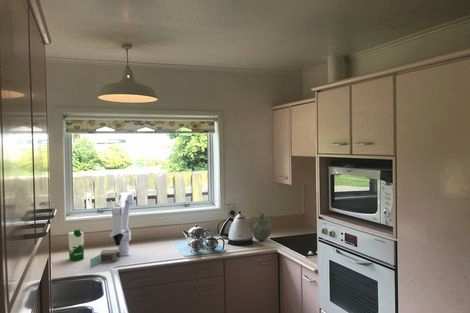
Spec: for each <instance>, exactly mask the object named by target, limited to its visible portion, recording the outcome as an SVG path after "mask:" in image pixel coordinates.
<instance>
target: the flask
mask: <svg viewBox="0 0 470 313" xmlns="http://www.w3.org/2000/svg"><path fill="white" fill-rule="evenodd" d="M259 215H260V216H259V220H258V221H256V222H254V225H253V227H252V235H253V238H254V239H255V240H256V241H259V242H263V241H266V240H267V239H268V238H269V237H270V235H271V233H272V225H271V222H270V221H269V220H267V219H265V213H264V212H261V213H259Z"/></svg>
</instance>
